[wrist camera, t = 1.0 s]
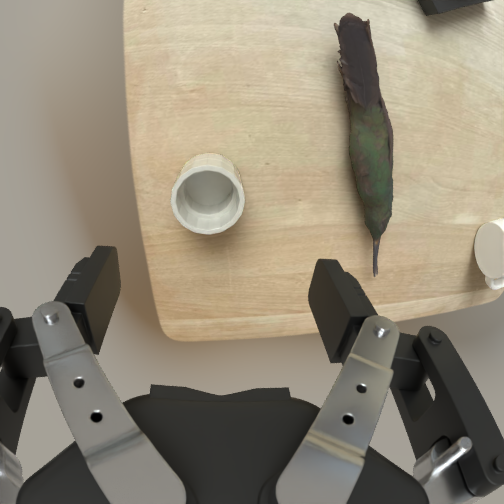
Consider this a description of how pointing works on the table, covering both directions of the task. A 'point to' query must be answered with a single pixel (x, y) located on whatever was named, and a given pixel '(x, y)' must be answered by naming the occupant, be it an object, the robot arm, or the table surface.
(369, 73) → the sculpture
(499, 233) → the mug
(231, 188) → the white cup
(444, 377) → the robot arm
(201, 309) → the table surface
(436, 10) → the scale
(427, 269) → the table surface
